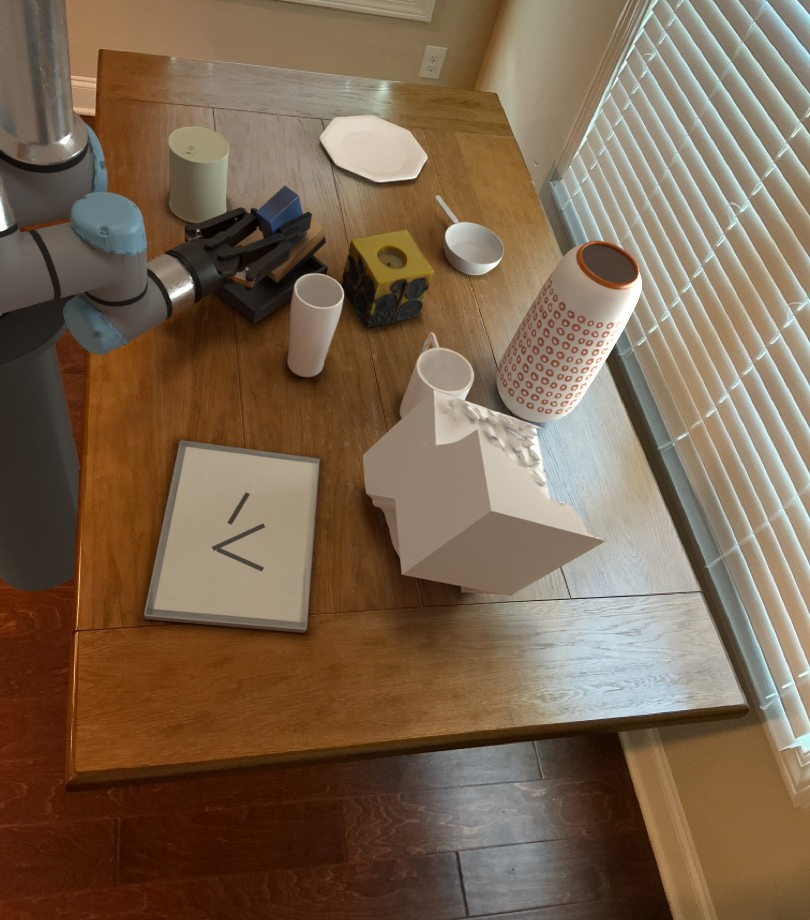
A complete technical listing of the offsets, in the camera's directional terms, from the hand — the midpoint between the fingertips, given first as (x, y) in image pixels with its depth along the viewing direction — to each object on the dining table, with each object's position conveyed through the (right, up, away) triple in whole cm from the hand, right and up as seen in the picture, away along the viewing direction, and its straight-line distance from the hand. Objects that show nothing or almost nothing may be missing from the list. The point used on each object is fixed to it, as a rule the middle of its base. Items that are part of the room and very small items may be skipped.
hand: (300, 213), depth 113 cm
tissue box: (+20, -48, -14) cm, 54 cm away
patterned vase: (+35, -28, +5) cm, 45 cm away
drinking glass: (+1, -23, -2) cm, 23 cm away
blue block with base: (-2, -5, +6) cm, 8 cm away
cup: (+18, -29, -1) cm, 34 cm away
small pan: (+25, +2, +22) cm, 34 cm away
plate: (+9, +22, +32) cm, 39 cm away
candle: (+12, -11, +9) cm, 19 cm away
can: (-19, +5, +12) cm, 23 cm away
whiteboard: (-5, -46, -20) cm, 50 cm away
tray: (-6, -9, +6) cm, 12 cm away
